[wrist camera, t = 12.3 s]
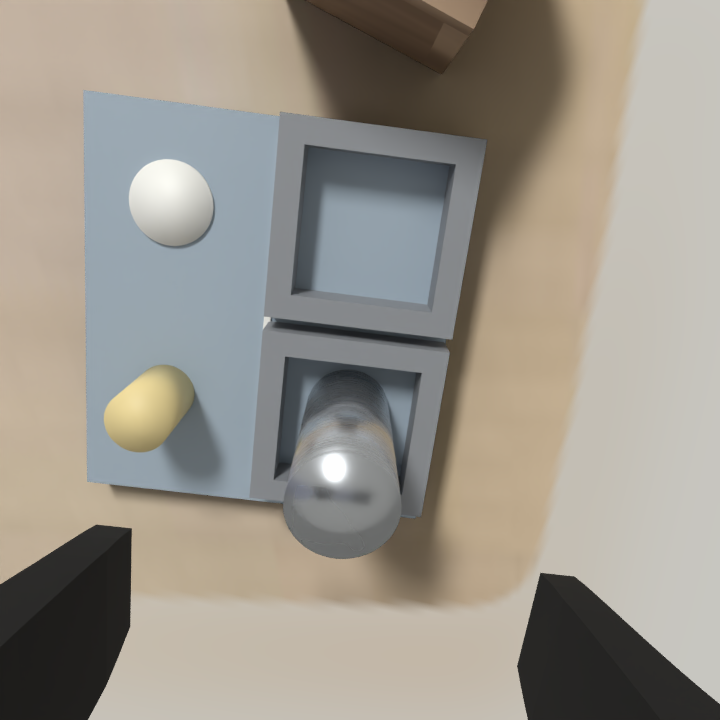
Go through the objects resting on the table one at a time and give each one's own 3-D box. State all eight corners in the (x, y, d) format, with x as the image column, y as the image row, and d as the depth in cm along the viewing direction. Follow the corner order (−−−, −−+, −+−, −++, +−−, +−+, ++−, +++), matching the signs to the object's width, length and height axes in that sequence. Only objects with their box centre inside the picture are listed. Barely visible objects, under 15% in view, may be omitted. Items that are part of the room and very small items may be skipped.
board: (100, 467, 20) (48, 523, 17) (99, 95, 17) (34, 73, 14) (412, 503, 21) (422, 564, 17) (473, 145, 17) (500, 135, 14)
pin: (309, 365, 18) (287, 448, 12) (392, 373, 18) (408, 459, 12) (303, 442, 19) (279, 554, 13) (383, 449, 19) (394, 563, 13)
